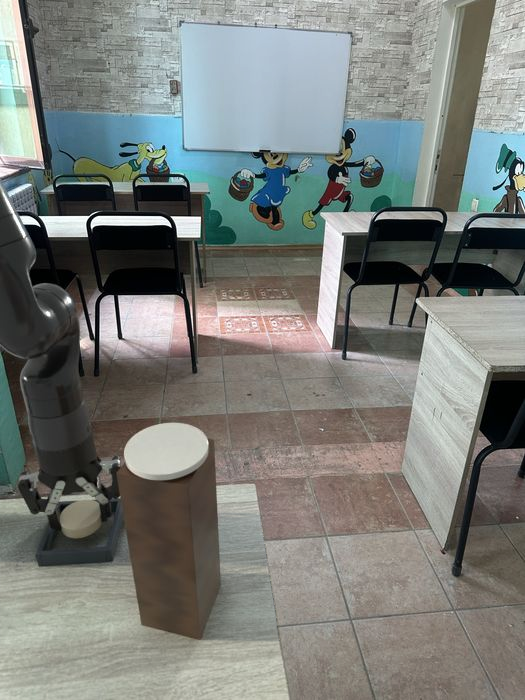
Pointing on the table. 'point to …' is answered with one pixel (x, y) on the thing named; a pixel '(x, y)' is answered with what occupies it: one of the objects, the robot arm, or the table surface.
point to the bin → (83, 554)
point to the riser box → (173, 546)
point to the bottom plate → (166, 451)
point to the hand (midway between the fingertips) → (82, 522)
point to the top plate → (80, 519)
